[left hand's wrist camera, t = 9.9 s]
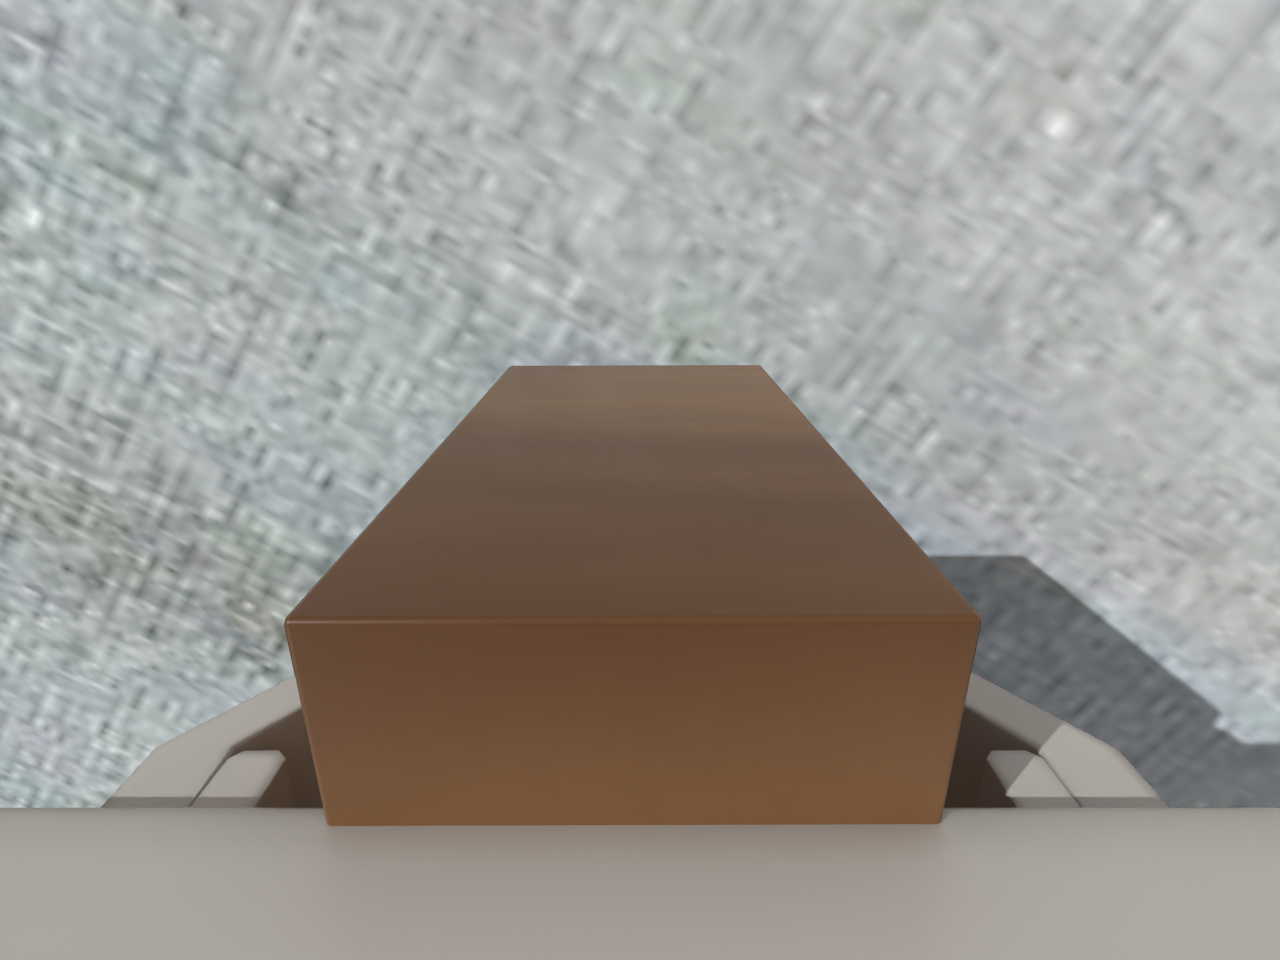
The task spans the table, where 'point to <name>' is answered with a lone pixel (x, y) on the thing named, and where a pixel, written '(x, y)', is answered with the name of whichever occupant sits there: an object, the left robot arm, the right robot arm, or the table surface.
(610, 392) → the bar
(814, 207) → the table surface
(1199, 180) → the table surface
